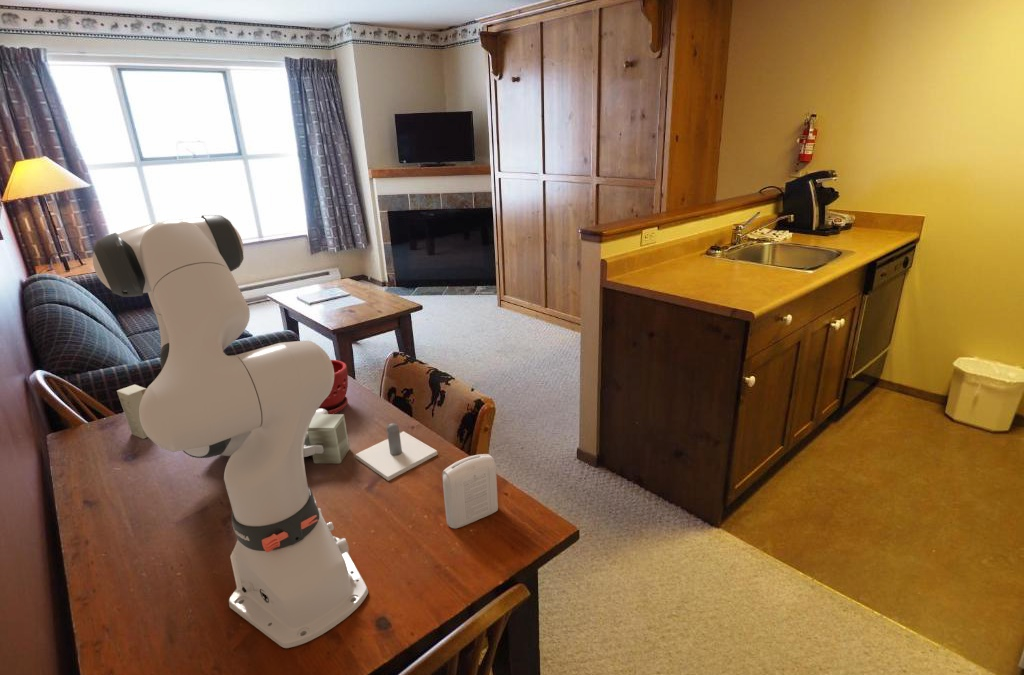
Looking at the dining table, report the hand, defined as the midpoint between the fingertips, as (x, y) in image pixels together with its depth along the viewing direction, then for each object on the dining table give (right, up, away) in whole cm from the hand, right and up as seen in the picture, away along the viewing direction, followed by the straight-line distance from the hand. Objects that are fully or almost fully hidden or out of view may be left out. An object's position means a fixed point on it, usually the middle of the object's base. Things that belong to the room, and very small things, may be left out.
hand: (332, 436), depth 121 cm
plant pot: (-9, +3, +24) cm, 26 cm away
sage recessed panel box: (-1, -5, +2) cm, 5 cm away
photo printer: (+33, -11, -19) cm, 40 cm away
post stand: (+14, -5, 0) cm, 15 cm away
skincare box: (-52, -2, +16) cm, 55 cm away
